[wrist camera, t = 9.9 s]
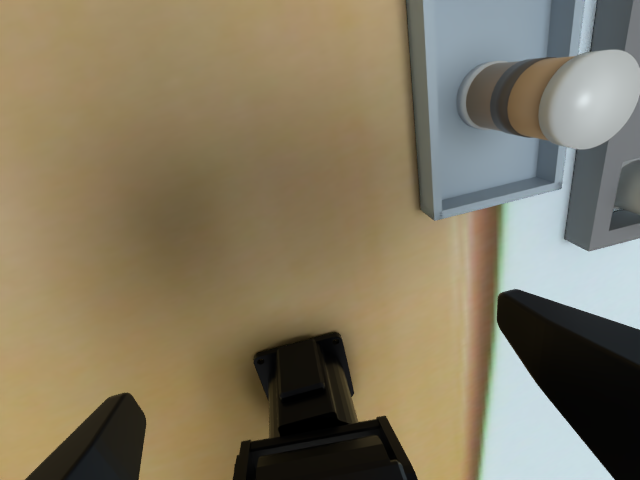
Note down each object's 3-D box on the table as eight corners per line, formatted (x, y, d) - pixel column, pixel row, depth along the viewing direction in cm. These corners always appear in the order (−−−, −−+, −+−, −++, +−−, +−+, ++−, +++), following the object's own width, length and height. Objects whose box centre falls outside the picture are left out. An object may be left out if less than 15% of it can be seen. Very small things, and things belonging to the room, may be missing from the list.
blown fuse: (512, 121, 19) (630, 138, 13) (456, 134, 19) (549, 158, 13) (516, 55, 18) (651, 40, 12) (456, 69, 18) (560, 60, 12)
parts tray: (538, 180, 22) (561, 188, 20) (420, 210, 21) (434, 220, 20) (559, -52, 17) (593, -67, 15) (404, -19, 16) (421, -31, 14)
